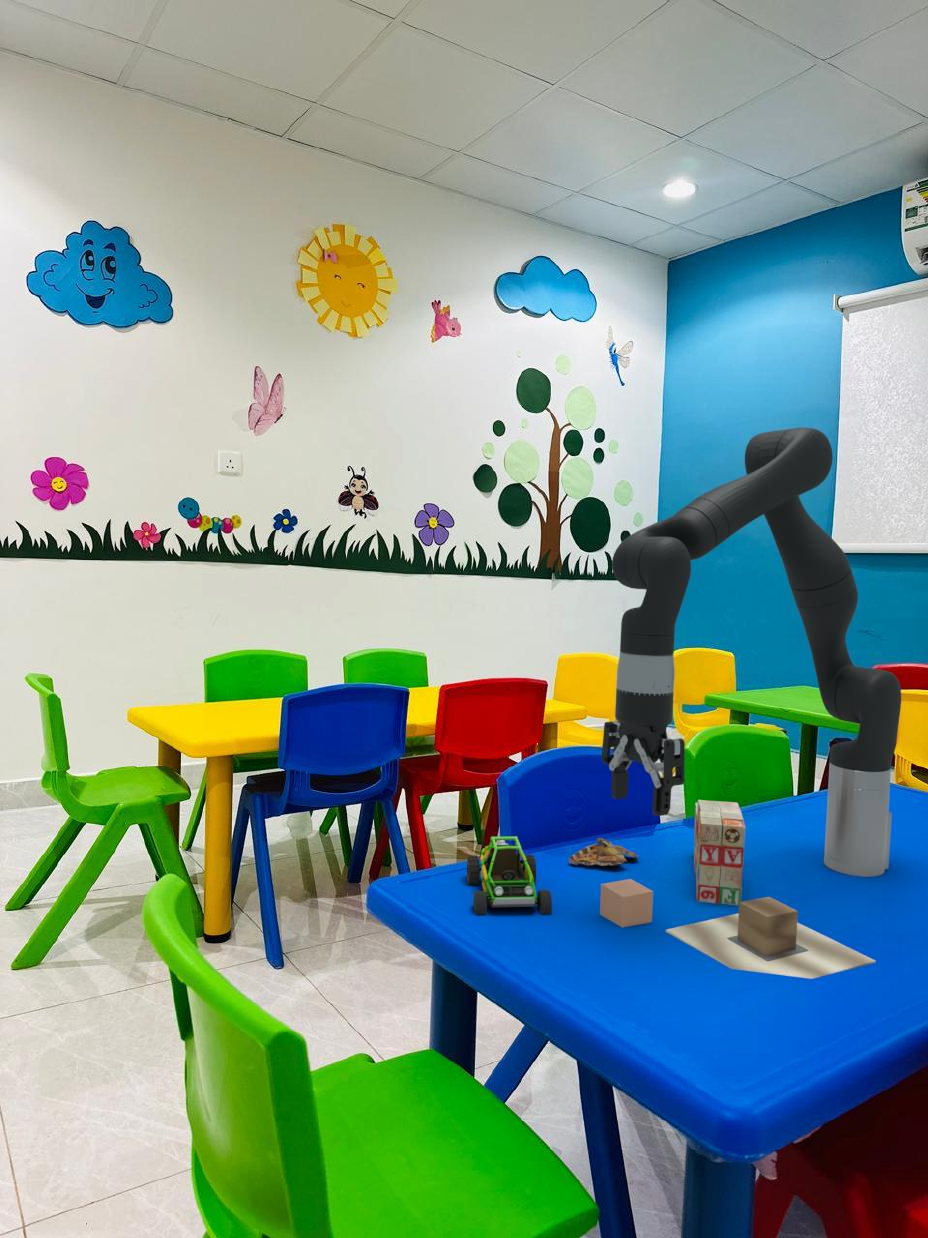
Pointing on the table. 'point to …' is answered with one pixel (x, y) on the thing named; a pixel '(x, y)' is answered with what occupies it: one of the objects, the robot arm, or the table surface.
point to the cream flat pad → (805, 961)
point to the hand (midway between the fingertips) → (639, 806)
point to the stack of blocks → (718, 851)
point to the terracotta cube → (626, 903)
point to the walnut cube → (767, 926)
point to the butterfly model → (601, 854)
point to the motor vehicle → (505, 878)
